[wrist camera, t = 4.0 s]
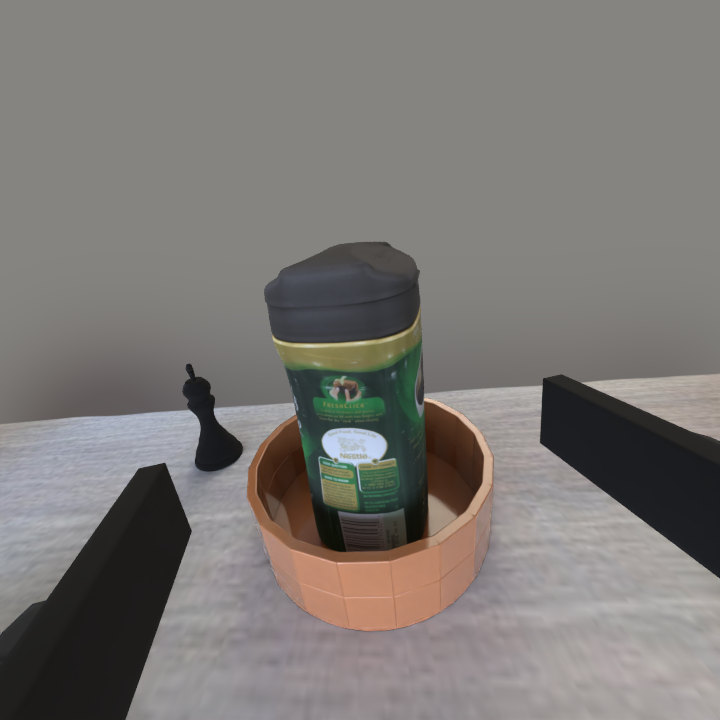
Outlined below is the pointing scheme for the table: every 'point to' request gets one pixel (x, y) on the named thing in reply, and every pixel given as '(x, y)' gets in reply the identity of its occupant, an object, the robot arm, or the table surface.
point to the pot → (378, 568)
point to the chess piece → (209, 427)
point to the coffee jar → (357, 390)
